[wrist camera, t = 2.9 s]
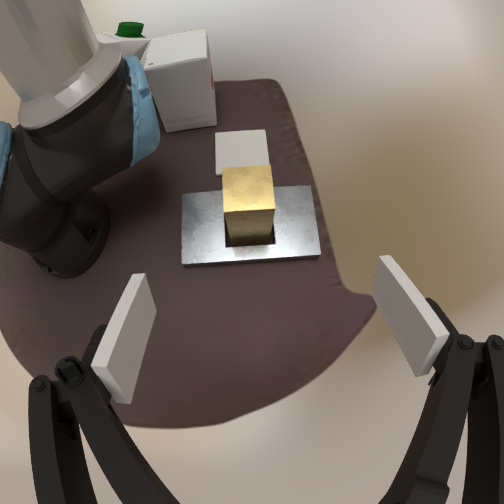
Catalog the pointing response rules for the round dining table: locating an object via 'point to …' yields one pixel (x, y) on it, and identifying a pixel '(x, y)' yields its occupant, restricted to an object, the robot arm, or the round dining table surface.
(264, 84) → the round dining table surface
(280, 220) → the grey metal slotted plate
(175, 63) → the supplement box
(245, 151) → the mat
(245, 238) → the gold metal column
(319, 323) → the round dining table surface
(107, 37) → the milk carton
